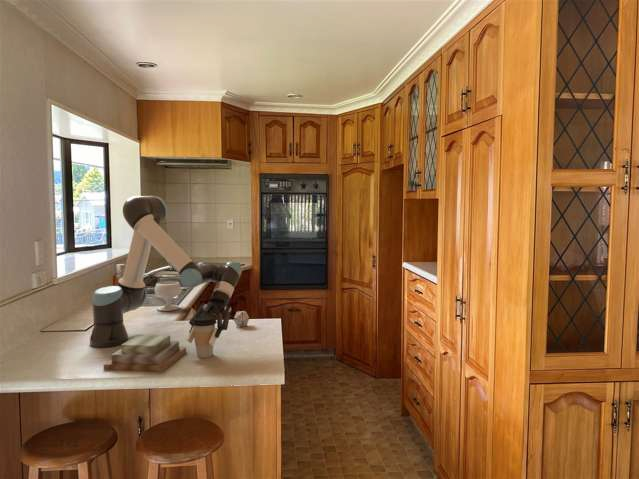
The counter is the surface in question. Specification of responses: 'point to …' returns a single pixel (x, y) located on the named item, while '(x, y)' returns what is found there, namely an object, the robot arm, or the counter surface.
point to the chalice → (167, 293)
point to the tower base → (146, 366)
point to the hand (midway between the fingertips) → (199, 343)
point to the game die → (241, 318)
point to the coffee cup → (203, 335)
